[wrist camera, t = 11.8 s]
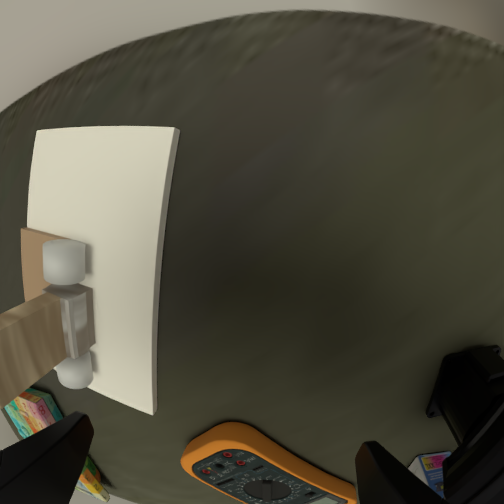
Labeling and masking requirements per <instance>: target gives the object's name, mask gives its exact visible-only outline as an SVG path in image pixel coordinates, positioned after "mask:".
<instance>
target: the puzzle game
mask: <svg viewBox="0 0 504 504" xmlns="http://www.w3.org/2000/svg"><path fill="white" fill-rule="evenodd" d="M5 409H6V411H7V413H8V414H9V416H10V417H11V419H12V421H13V422H14V424H15V425H16V427H17V428H18V431H19V433H20V434H21V436H22V437H23V438H24V439H25V438H27V437H29V436H31V435H32V434H34V433H36V432H38V431H40V430H42V429H44V428H46V427H48V426H49V425H51V424H53V423H55V422H57V421H59V420H61V419H62V418H63V416H62V415H61V413H60V411H59V409H58V408H57V406H56V404H55V402H54V400H53V398H52V396H51V394H47V393H44V392H41V391H38V390H35V389H32V388H27V389H26V390H25V391H24V392H22V393H21V394H20V395H19V396H17V397H16V398H15V399H14V400H12V401H11V402H10V403H9V404H8V405H6V406H5ZM100 478H101V476H100V473H99V471H98V469H97V468H96V467H95V465H94V464H93V463H92V461H91V460H90V458H89V457H88V456H87V458H86V462H85V465H84V468H83V471H82V473H81V475H80V478H79V480H78V483H77V485H76V487H75V489H77V490H79V491H81V492H83V493H86V494H88V495H90V496H93V497H95V498H97V499H100V500H102V501H105V502H108V501H109V499H110V496H109V493H108V492H107V491H106V490H105V488H104V487H103V486H102V485H101V484H100Z"/></svg>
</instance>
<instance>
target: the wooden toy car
mask: <svg viewBox="0 0 504 504" xmlns="http://www.w3.org/2000/svg"><path fill="white" fill-rule="evenodd" d="M95 343H96V341H95V329H94V311H93V288H90V287H88V286H85V285H82V284H79V283H76V284H72V285H56V284H50V285H48V286H47V287H46V288H44V289H42V295H40V296H38V297H36V298H34V299H31V300H29V301H27V302H25V303H23V304H21V305H19V306H17V307H15V308H12V309H10V310H8V311H6V312H4V313H2V314H0V408H1V409H3V408H4V407H5V406H6V405H8V404H9V403H10V402H11V401H12V400H14V399H15V398H16V397H17V396H19V395H20V394H21V393H22V392H24V391H25V390H26V389H27V388H29V387H30V386H31V385H32V384H34V383H35V382H36V381H38V380H39V379H40V378H41V377H43V376H44V375H45V374H46V373H48V372H49V371H50V370H52V369H53V368H54V367H55V366H57V365H58V364H59V363H61V362H62V361H63V360H64V359H66V358H67V357H68V358H73V359H76V358H78V357H79V356H82V355H84V354H85V353H87V352H88V350H89V349H90V347H91V346H93V345H94V344H95Z"/></svg>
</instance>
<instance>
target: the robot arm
mask: <svg viewBox="0 0 504 504" xmlns="http://www.w3.org/2000/svg"><path fill="white" fill-rule="evenodd" d="M500 352H501V348H500V347H499V346H498V345H496V346H492V347H489V346H488V347H484V348H479V349H474V350H469V351H468V352H463V353H457V354H451V355H448V356H446V357H445V358H444V360H443V363H442V366H441V370H440V373H439V376H438V379H437V382H436V386H435V389H434V391H433V394H432V397H431V400H430V403H429V405H428V408H427V411H426V415H427V417H428V418H432V417H436V416H440V415H443V417H444V419H445V421H446V423H447V425H448V426H449V428H450V430H451V432H452V434H453V436H454V438H455V440H456V442H457V444H458V447H457V448H456V450H455V451H454V452H453V453H452V454H451V455H450V456H449V457H446V458H445V459H444V460H443V461H442V470H443V496H444V498H442V497H441V496H440V495H439V494H437V493H436V492H435V491H434V490H433V489H431V488H430V487H429V486H428V485H426V484H425V483H424V482H423V481H422V480H420V479H419V478H418V477H417V476H416V475H415V474H413V473H412V472H411V471H410V470H409V469H408V468H406V467H405V466H404V465H403V464H402V463H401V462H399V461H398V460H397V459H396V458H395V457H394V456H393V455H391V454H390V453H389V452H388V451H387V450H386V449H385V448H384V447H382V446H381V445H380V444H379V443H378V442H377V441H367V442H364V443H363V444H362V445H361V447H360V449H359V451H358V453H357V455H356V458H355V464H356V474H357V484H358V495H359V501H360V504H504V360H503V359H502V358H501V357H500V356H499V355H500ZM449 360H450V361H449ZM448 361H449V362H448ZM93 435H94V429H93V426H92V424H91V421H90V419H89V416H88V415H87V414H85V413H82V412H80V411H75V412H73V413H71V414H70V415H68V416H66V417H64V418H62V419H61V420H59V421H57V422H55V423H53V424H51V425H49V426H48V427H46V428H44V429H42V430H40V431H38V432H36V433H34V434H32V435H31V436H29V437H27V438H25V439H23V440H21V441H19V442H17V443H15V444H13V445H11V446H9V447H7V448H5V449H3V450H1V451H0V504H69V502H70V499H71V497H72V495H73V492H74V490H75V487H76V485H77V483H78V480H79V478H80V475H81V473H82V471H83V468H84V465H85V462H86V458H87V455H88V452H89V448H90V445H91V442H92V438H93Z"/></svg>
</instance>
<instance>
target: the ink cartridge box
mask: <svg viewBox="0 0 504 504" xmlns="http://www.w3.org/2000/svg"><path fill="white" fill-rule="evenodd" d="M451 454H452V453H451V452H450V451H448V452H442V453H435V454H427V455H419V456H418V457H416V458H415V460H414V461H413V462H412V464H411V465H410V466H409V468H408V469H409V470H410V471H411V472H412V473H413V474H415V475H416V476H417V477H418V478H419V479H420V480H422V481H423V482H424V483H425V484H426V485H428V486H429V487H430V488H431V489H433V490H434V491H435V492H436V493H437V494H439V495H440V496H441V497H442V498H444V496H443V470H442V461H443V460H444V459H445V458H446V457H449V456H450V455H451Z"/></svg>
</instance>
